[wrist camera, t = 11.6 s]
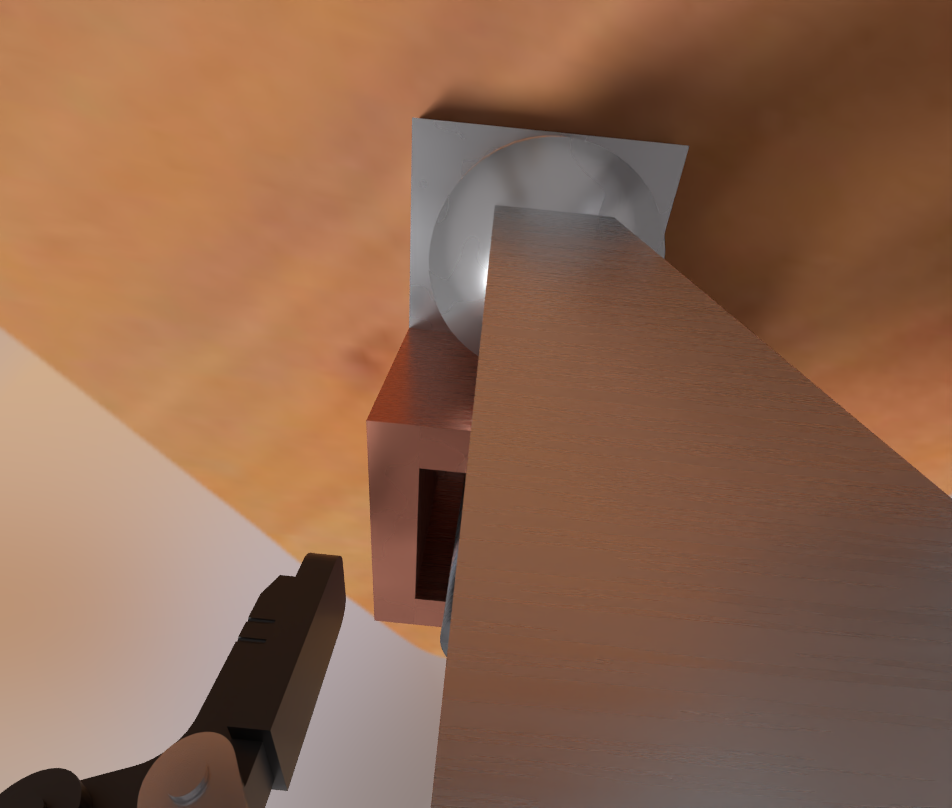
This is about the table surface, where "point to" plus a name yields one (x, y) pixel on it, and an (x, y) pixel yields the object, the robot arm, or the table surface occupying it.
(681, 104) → the table surface
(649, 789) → the grey and brown stand
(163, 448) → the table surface
